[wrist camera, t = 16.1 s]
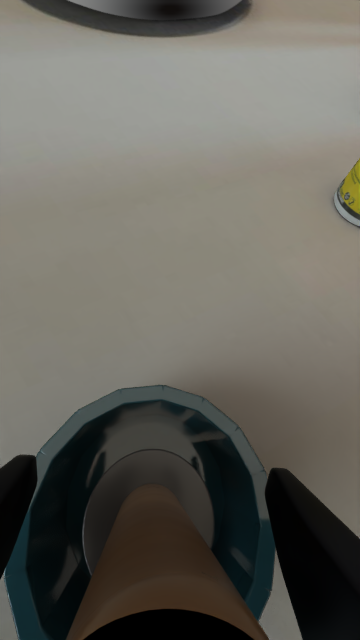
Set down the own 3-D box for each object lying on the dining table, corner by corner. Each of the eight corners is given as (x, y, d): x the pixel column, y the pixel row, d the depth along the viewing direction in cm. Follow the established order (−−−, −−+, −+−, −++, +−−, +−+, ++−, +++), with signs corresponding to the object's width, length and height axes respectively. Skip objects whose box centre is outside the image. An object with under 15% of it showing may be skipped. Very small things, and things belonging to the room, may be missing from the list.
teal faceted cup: (98, 668, 11) (64, 832, 6) (31, 457, 13) (-26, 461, 9) (265, 531, 13) (328, 575, 9) (180, 378, 16) (195, 350, 11)
